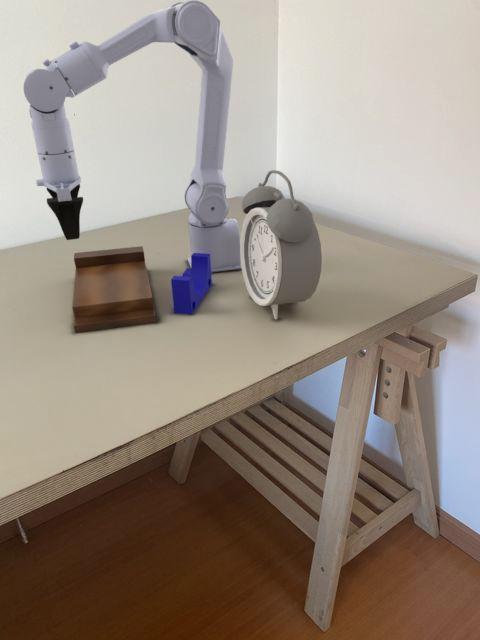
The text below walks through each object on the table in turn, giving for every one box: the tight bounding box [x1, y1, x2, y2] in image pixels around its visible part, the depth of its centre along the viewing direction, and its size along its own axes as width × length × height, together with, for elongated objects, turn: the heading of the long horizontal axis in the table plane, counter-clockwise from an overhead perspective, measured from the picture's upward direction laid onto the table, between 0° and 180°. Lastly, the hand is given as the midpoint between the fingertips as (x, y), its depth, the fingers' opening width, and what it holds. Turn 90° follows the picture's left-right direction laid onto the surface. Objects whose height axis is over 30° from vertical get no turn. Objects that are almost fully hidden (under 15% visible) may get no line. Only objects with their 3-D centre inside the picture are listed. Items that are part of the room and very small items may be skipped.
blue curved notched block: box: [170, 253, 213, 315], centre depth 96 cm, size 12×4×6 cm, turn 168°
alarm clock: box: [240, 169, 323, 320], centre depth 89 cm, size 16×9×22 cm, turn 23°
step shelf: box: [72, 245, 157, 333], centre depth 97 cm, size 12×23×5 cm, turn 14°
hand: (71, 232), depth 98 cm, fingers open, 7 cm apart
